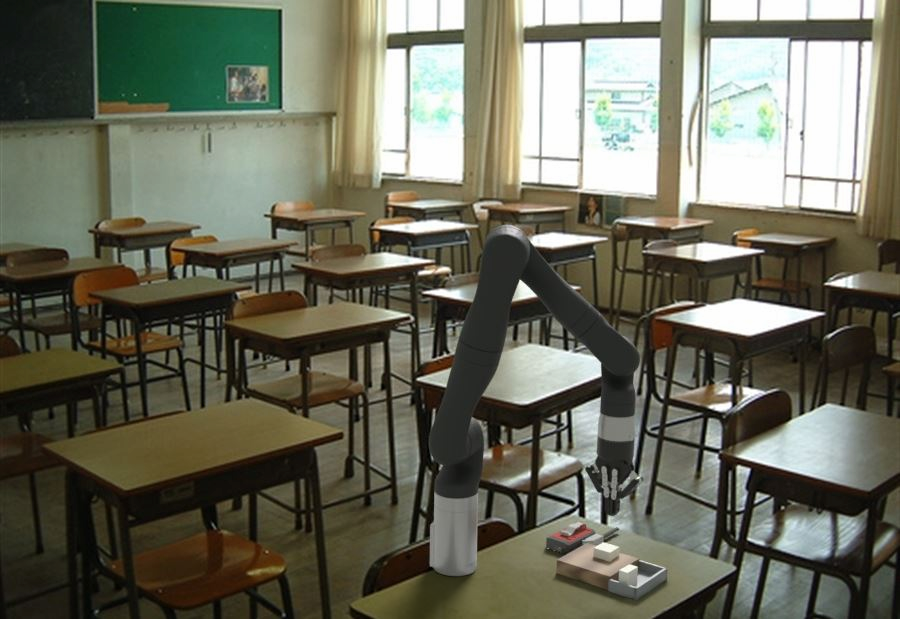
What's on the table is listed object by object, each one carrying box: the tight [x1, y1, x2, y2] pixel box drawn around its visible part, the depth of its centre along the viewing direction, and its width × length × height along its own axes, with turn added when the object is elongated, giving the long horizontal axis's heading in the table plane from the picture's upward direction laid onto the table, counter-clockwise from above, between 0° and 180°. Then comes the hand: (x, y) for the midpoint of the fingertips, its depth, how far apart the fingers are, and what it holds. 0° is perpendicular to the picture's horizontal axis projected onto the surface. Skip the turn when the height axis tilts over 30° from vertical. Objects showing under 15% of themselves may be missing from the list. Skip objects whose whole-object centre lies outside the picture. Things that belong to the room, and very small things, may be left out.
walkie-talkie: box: [545, 521, 620, 555], centre depth 258 cm, size 9×4×20 cm
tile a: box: [619, 564, 638, 586], centre depth 233 cm, size 4×4×2 cm
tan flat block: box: [556, 543, 640, 591], centre depth 241 cm, size 13×12×3 cm
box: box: [607, 559, 668, 601], centre depth 235 cm, size 6×13×2 cm, turn 141°
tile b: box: [593, 541, 620, 562], centre depth 242 cm, size 4×4×2 cm
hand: (611, 514), depth 234 cm, fingers closed
